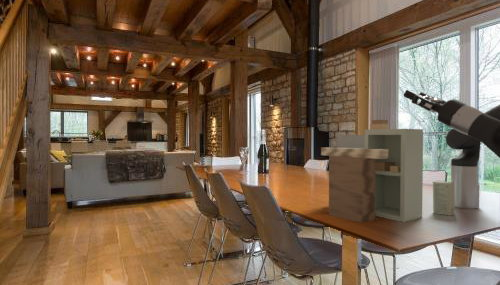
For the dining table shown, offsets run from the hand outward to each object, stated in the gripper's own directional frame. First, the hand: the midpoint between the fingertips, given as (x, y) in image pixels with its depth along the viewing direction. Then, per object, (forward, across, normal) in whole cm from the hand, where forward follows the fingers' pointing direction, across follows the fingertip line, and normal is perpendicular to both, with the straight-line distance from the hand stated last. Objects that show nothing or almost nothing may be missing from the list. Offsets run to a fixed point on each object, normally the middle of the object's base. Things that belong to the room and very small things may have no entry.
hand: (412, 93), depth 104 cm
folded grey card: (+6, -14, +53) cm, 55 cm away
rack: (-10, -11, +44) cm, 46 cm away
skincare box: (-19, -29, +39) cm, 52 cm away
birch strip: (+7, +4, +28) cm, 29 cm away
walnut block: (-4, +4, +47) cm, 48 cm away
